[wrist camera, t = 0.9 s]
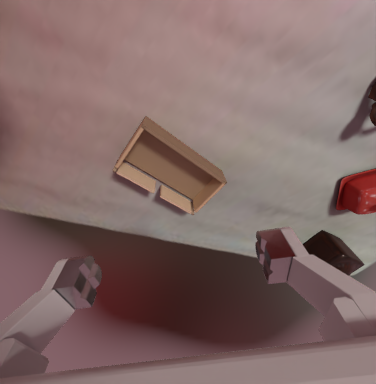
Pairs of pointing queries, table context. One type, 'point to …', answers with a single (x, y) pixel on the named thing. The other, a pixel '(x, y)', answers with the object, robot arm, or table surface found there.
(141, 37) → the table surface
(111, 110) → the table surface
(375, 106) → the pottery mug
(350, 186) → the butter dish
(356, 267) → the manual coffee grinder
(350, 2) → the table surface
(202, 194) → the carton
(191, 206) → the right flap
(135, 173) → the left flap
